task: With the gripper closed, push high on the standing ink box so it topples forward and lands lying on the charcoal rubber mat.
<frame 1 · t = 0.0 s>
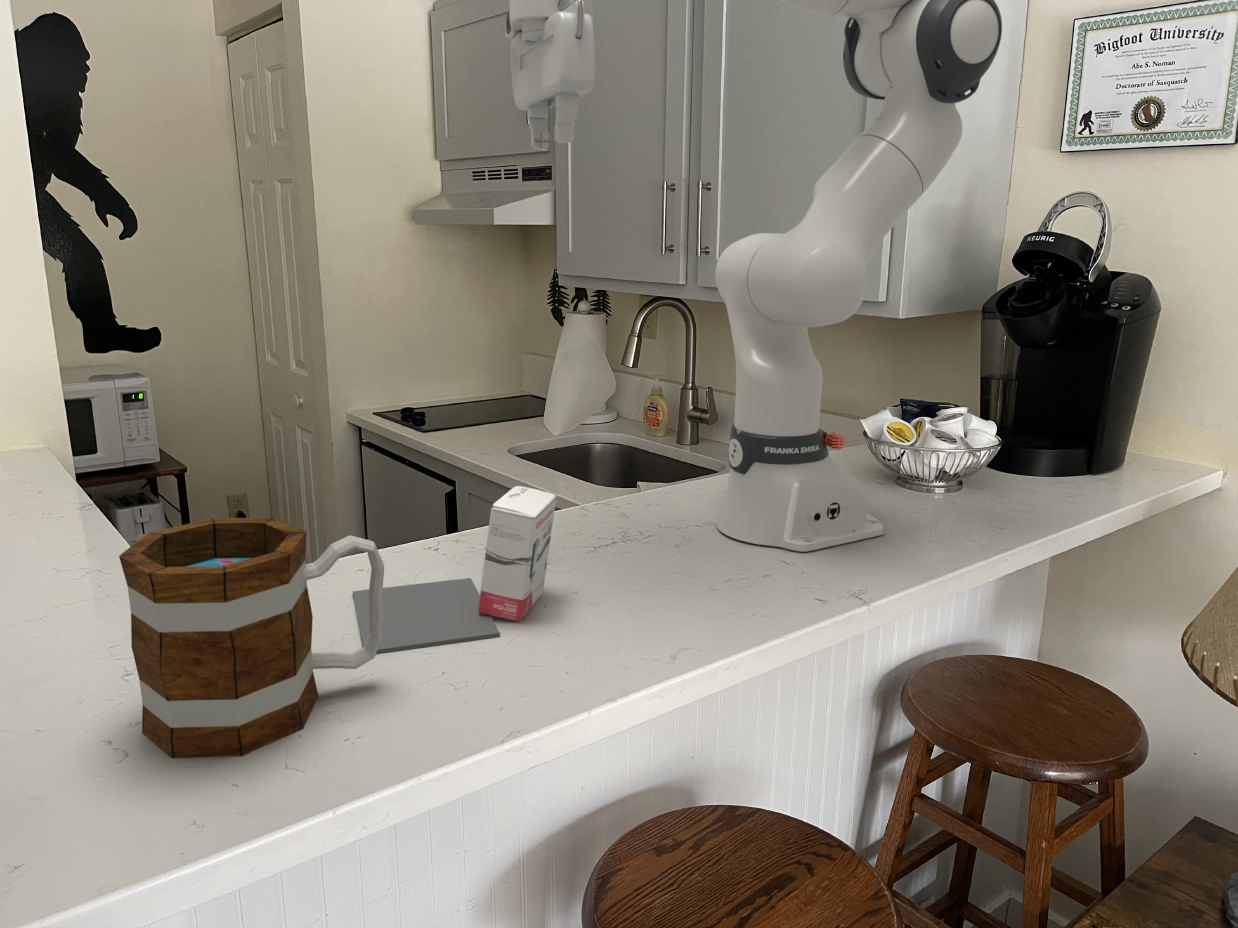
hand: (551, 146, 99), 48 cm above the table, fingers open, 8 cm apart
mug: (273, 707, 76), on the table
mat: (422, 614, 94), on the table
ink box: (512, 604, 96), on the table, touching mat
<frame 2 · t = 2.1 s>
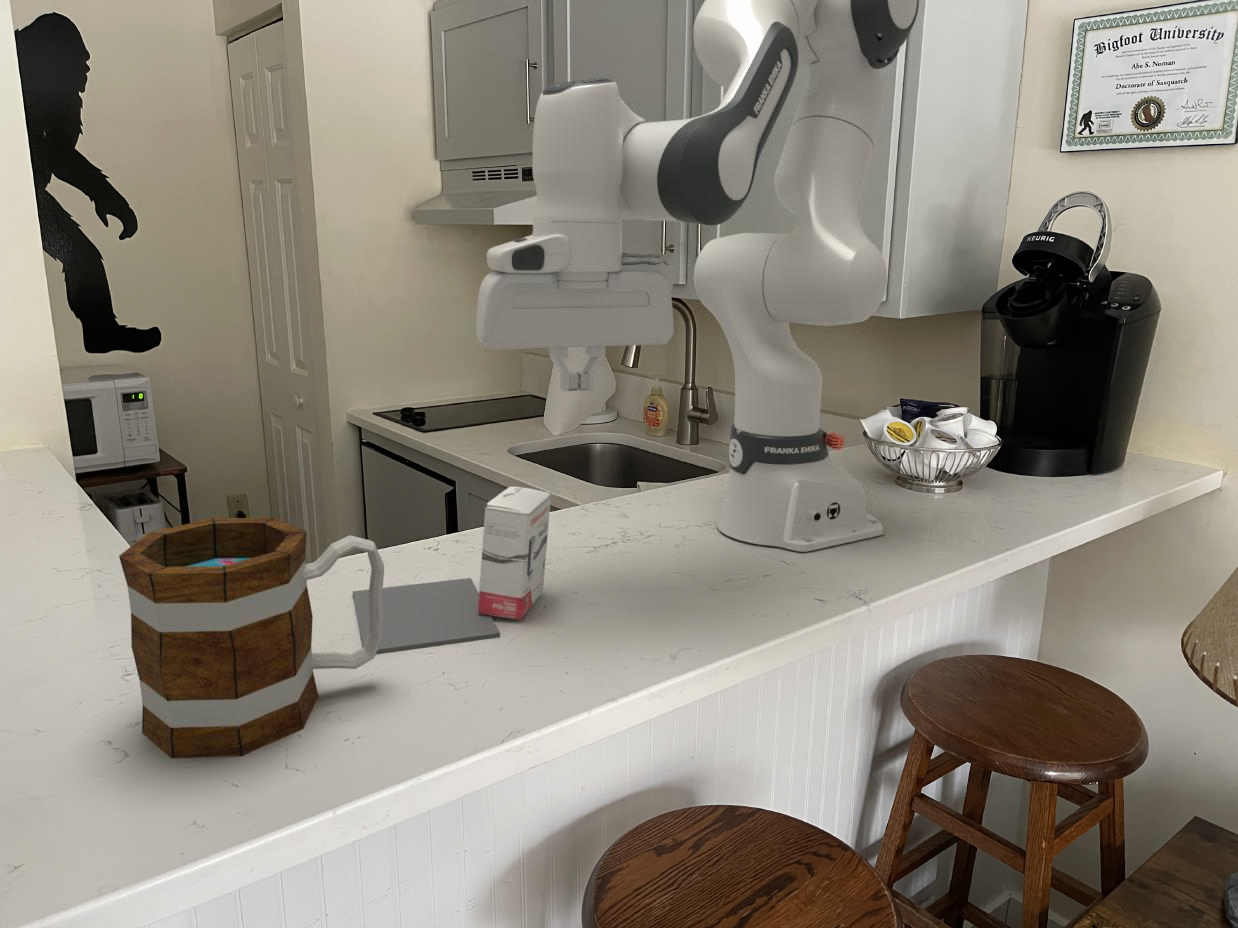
hand: (576, 390, 93), 23 cm above the table, fingers closed
nothing on the table moved.
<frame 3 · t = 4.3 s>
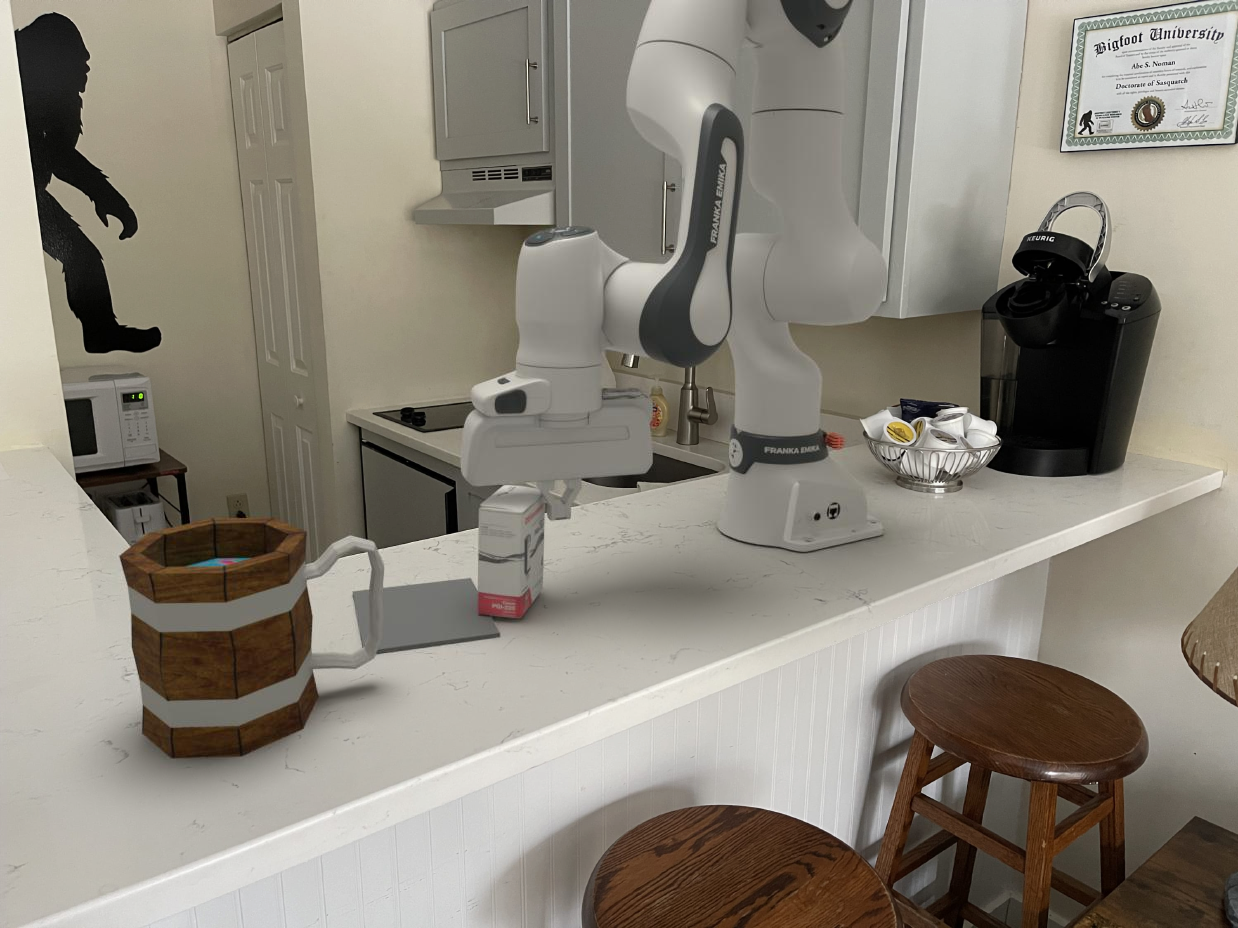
hand: (558, 518, 95), 9 cm above the table, fingers closed
ink box: (512, 603, 96), on the table, touching gripper, mat
everything else where it was.
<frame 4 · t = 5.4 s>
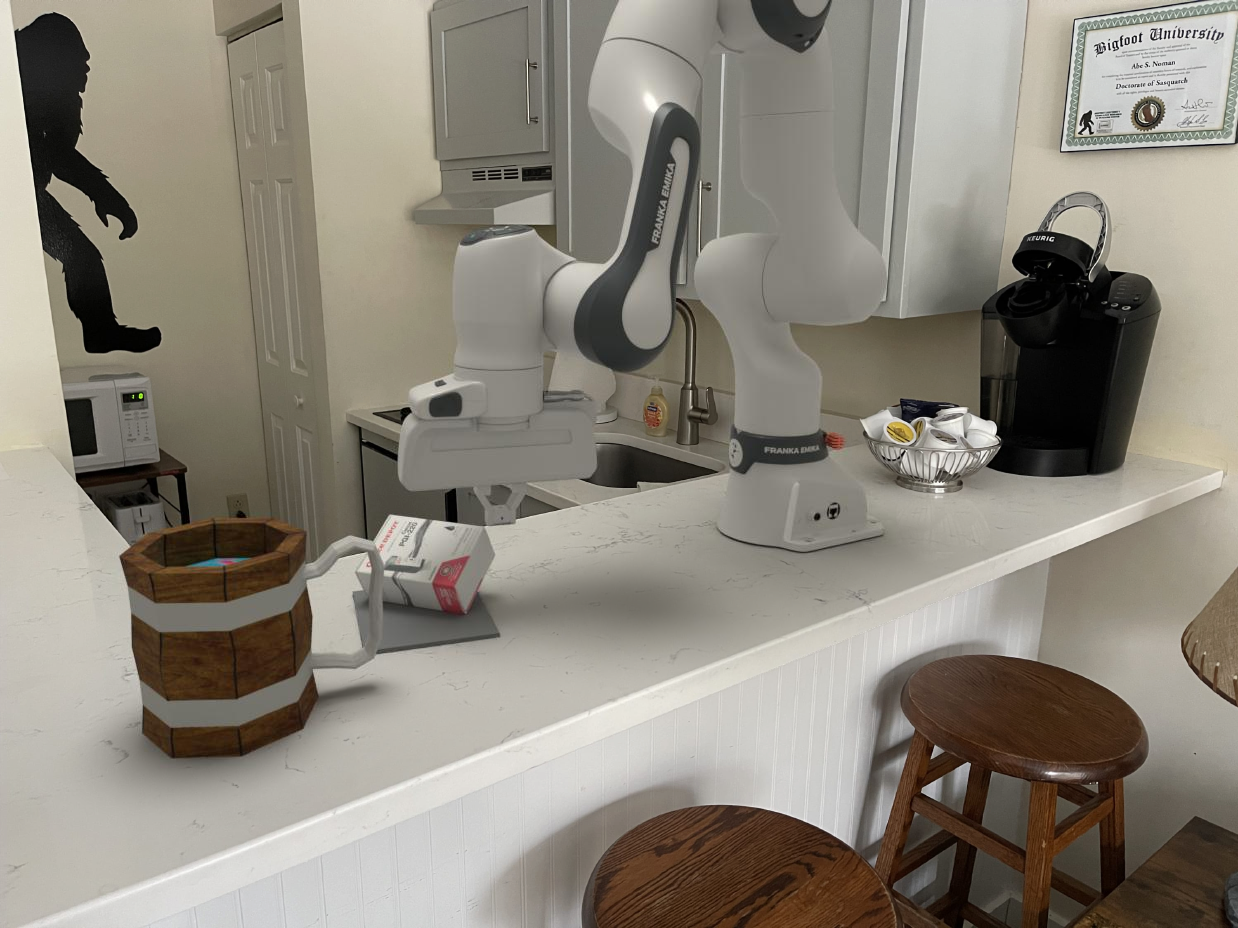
hand: (500, 523, 93), 9 cm above the table, fingers closed
ink box: (477, 568, 94), point 5 cm above the table, touching mat
everything else where it was.
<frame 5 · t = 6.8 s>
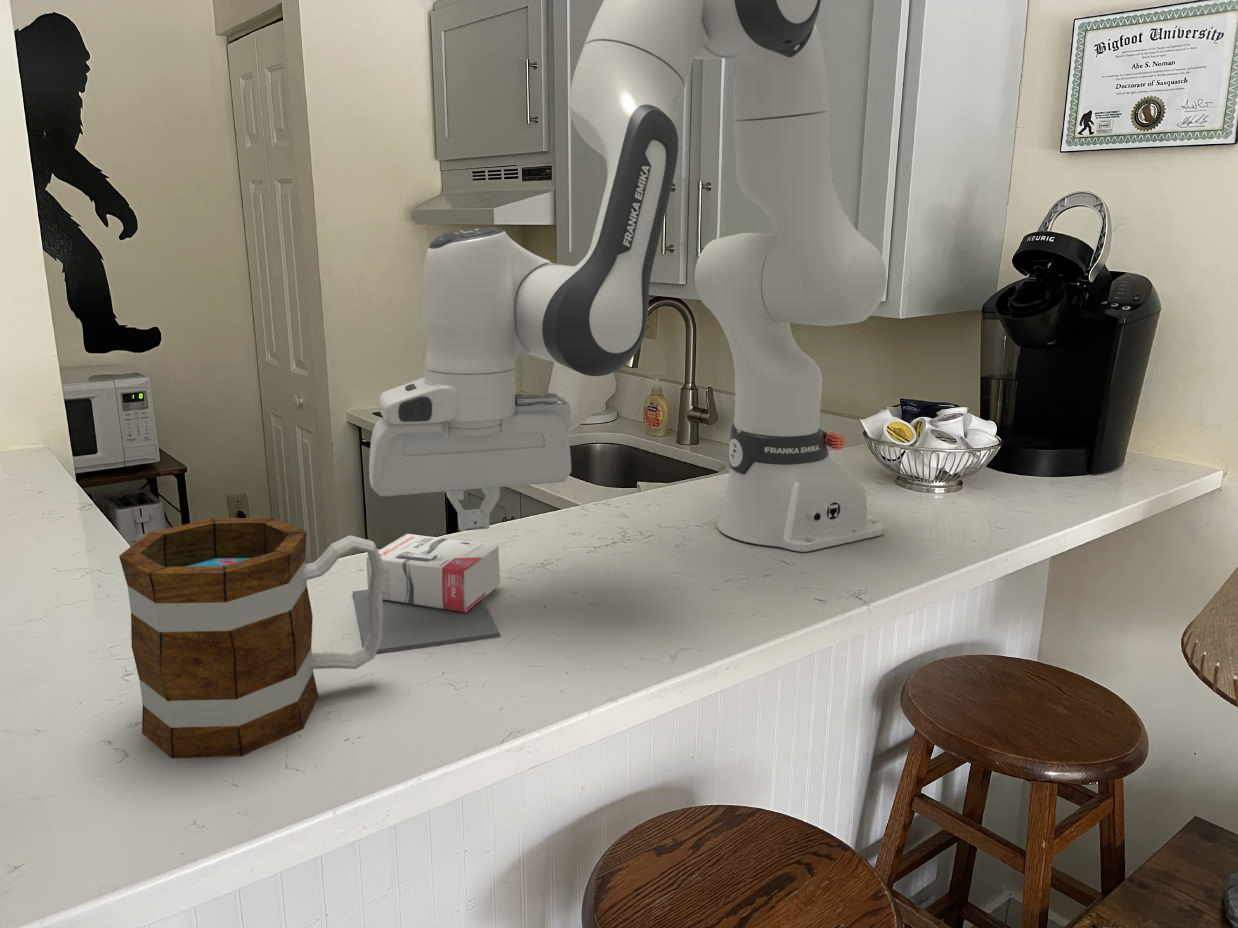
hand: (473, 528, 93), 9 cm above the table, fingers closed
ink box: (485, 576, 96), point 3 cm above the table, touching mat
everything else where it was.
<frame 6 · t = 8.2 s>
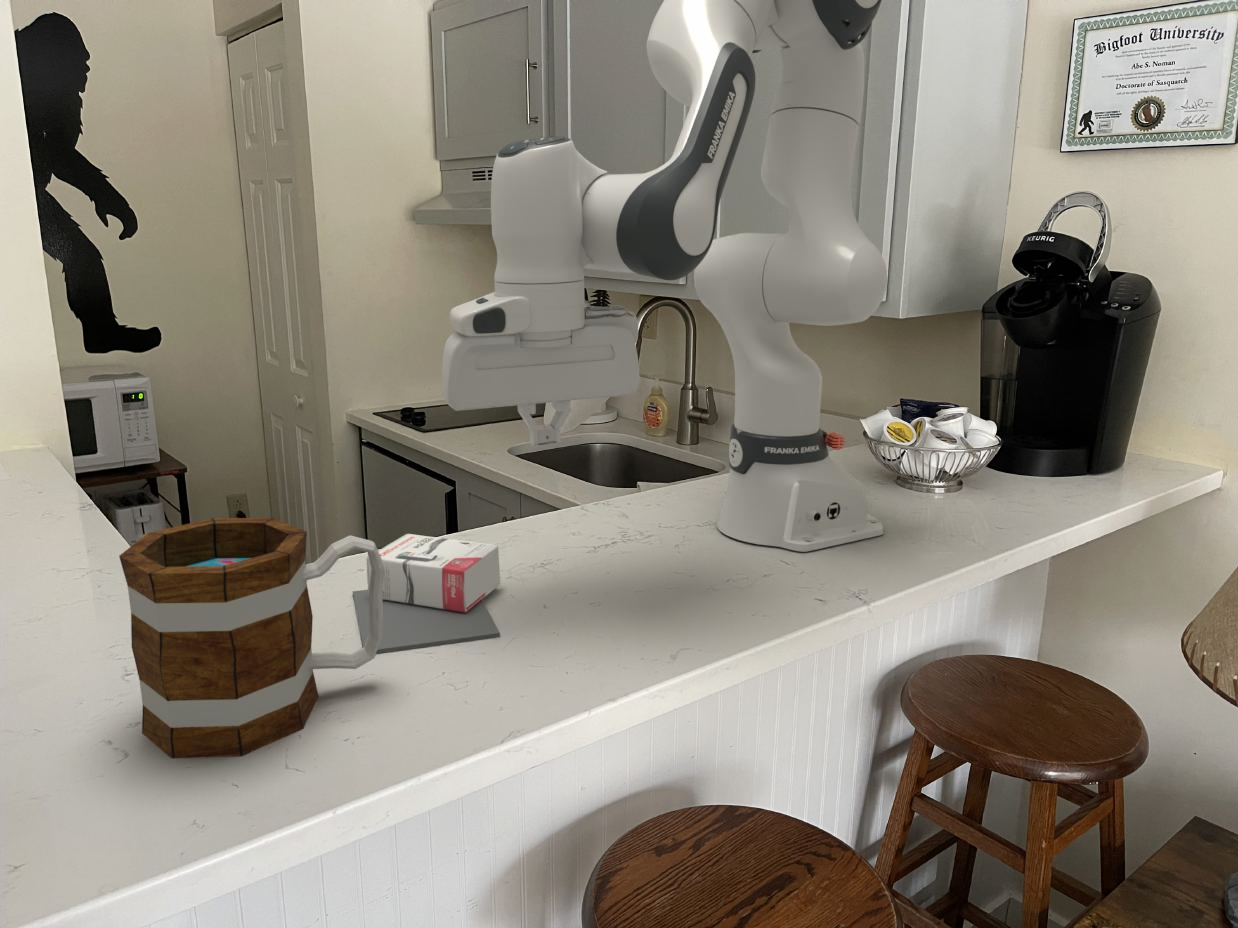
hand: (545, 443, 93), 18 cm above the table, fingers closed
nothing on the table moved.
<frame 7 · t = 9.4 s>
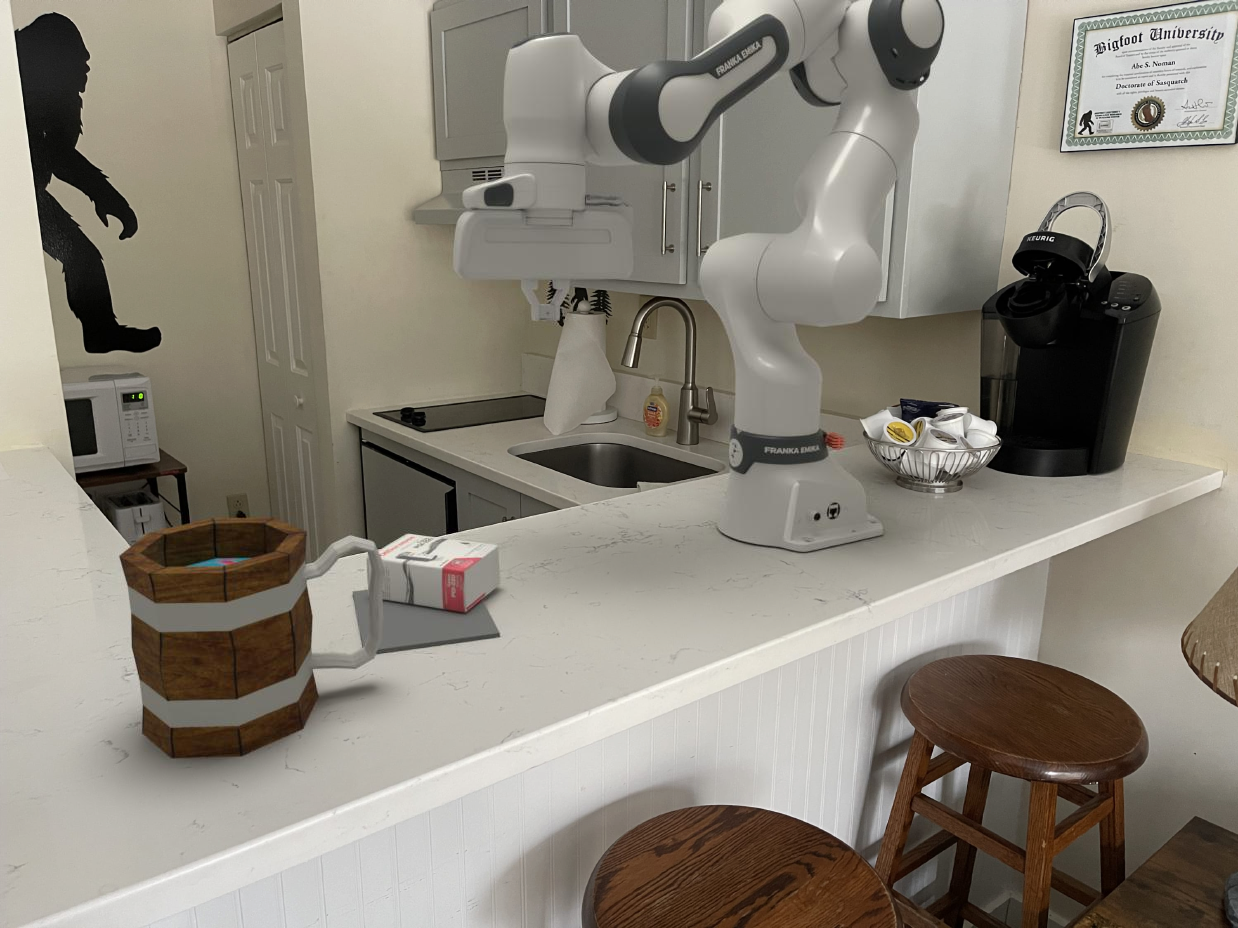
hand: (545, 320, 102), 29 cm above the table, fingers closed
nothing on the table moved.
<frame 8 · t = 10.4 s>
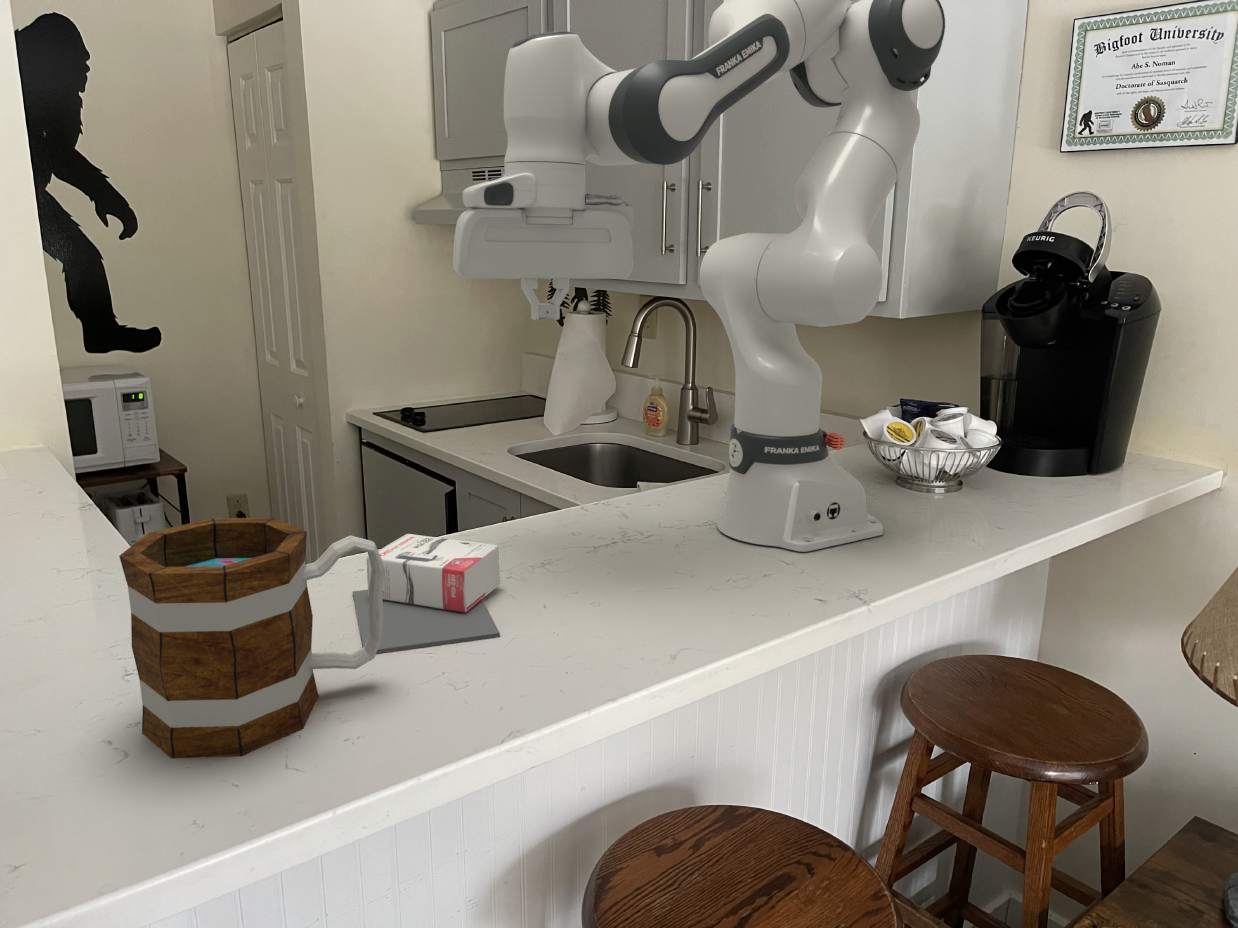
hand: (545, 319, 102), 29 cm above the table, fingers closed
nothing on the table moved.
at the end: ink box tilted 92°; ink box inside the target area (6.6 cm from its centre), point 3.1 cm above the table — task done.
